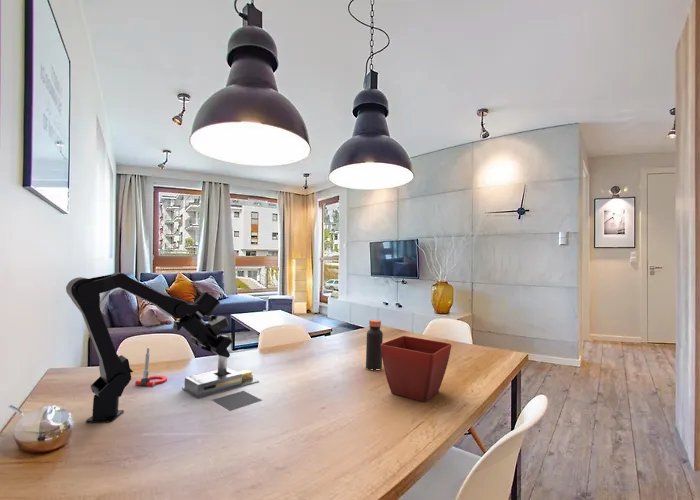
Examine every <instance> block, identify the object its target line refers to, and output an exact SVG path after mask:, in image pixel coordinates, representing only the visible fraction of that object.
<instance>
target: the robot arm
mask: <svg viewBox="0 0 700 500" xmlns="http://www.w3.org/2000/svg"><path fill="white" fill-rule="evenodd" d="M115 289H120V290H123V291H124V292H127V293H129V294H131V295H133V296H135V297H138V298H139V299H142V300H144V301H145V302H148V303H150V304H151V305H153V306H154V307H156V308H157V309H158V310H159V311H161V312H162V313H163V314H164V315H166V316H168V317H171V318H174V319H177V320H174V321H173V325H172V329H173V330H175V331H178V332H179V331H180V330H181V329H184V331H185V332H186V333H188V334H189V337H190V338H191V339H190V342H191V344H192V345H193V346H194V347H197V348H198V347H200V346H201V347H200V348H201V349H202V350H203V351H207V352H210V354H211V353H212V354H214V355H217V356H218V355H219V356H224V357H227V359H229V358H230V356H231V355H230V352H229V346H230V345H231V344H233V339H232V337H230V336H228V335H227V334H226V335H225V334H221V335H220V331H221V330H223V329H224V328H227V327H229V326H230V325H229V321H228V319H227V316H223V315H217V316H216V315H214V314H212V313H213V312H214V311H215V310H216V309H217V308H218V307H219V305H220V304H221V303H220V300H218V298H217V297H214V296H213V295H212V294H210V293H208V292H207V291H203V292H202V293H201V294H200V296H199V297H197V298H196V299H195V300H194V301H193V302H189V301H186V300H183V299H180V298H176V297H173V296H170V295H167V294H163V293H161V292H159V291H157V290H155V289H153V288H152V287H150V286H148V285H146V284H143V283H142V282H139V280H138V281H137V280H136V279H134V278H132V277H130V276H129V275H127V274H126V273H123V272H113V273H111V274H107V275H101V276H100V275H99V276H95V277H90V278H86V277H80V276H79V277H75V278H72V279H71V280H70V281H69V282H68V283H67V285H66V286H65V291H66V293H67V296H68V297H69V298H70V300H71V301H72V302H73V304H74V305H75V307H76V308H77V309H78V310H79V312H80V313H81V315H82V318H83V321H84V323H85V325H86V328H87V331H88V333H89V336H90V338H91V342H92V343H93V345H94V346H93V347H94V350H95V352H96V353H97V356H98V359H99V360H98V361H99V362H98V363H99V364H98V365H99V366H98V371H99V375H100V376H99V377H98V378H97V379H96V380H95V381H94V382H93V383H92V384H91V385H90V389H91V392H92V393H94V395H93V401H92V415H91V416H90V417H89V418H87V419H86V420H85V423H112V422H113V421H114V420H115V419H117V418H118V417H119V416H121V415H122V414H123V413H124V411H125V410H124V409H119V402H120V401H119V400H120V397H121V396H122V395H123V392H124V390H125V388H126V387H127V386H128V385H129V384H130V382H131V381H132V374H131V373H133V372H134V371H133V370H132V368H131V367H130V362H129V359H128V358H127V357H126V356H124V355H122V354H121V355H118V352H117V349H116V347H115V345H114V342H113V339H112V337H111V334H110V331H109V328H108V326H107V323H106V321H105V319H104V316H103V313H102V311H101V296H100V294H104V293H106V292H109V291H113V290H115ZM204 317H208V321H207V322H206V321H204V320H203V319H202V318H204ZM227 348H228V350H227Z"/></svg>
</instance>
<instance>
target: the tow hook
mask: <svg viewBox="0 0 700 500" xmlns="http://www.w3.org/2000/svg"><path fill="white" fill-rule="evenodd" d="M150 355H151V354H150V347H146V353H145V358H144V359H145V360H144V370H143V373H142V375H143V377H141V379H140V380H135V382H134V384H135V385H136V386H142V387H151V388H152V387H153V388H154V387H155V386H156V385H158V384H159V385H160V384H163V383H165V382H167V380H168V377H167V376H164V375H151V376H150V374H149V372H150V370H149V366H150ZM150 380H151V381H150ZM153 380H154V381H153Z"/></svg>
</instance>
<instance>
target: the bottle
mask: <svg viewBox="0 0 700 500" xmlns="http://www.w3.org/2000/svg"><path fill="white" fill-rule="evenodd" d="M368 322H369V323H368V324H369V327H368V328H369V329H368V330H367V331H366V348H365V349H366V350H365V354H366V355H365V368H366V369H367V368H368V369H373V370H372V371H374V370H376V369H381V368H382V367H383V359H382V353H381V344H382V343H384V342H383V339H384V335H383V334H384V333H383V331H382V330H381V325H382V321H381V319H380V320H379V319H370V320H369V321H368ZM368 369H367V370H368ZM381 370H382V369H381ZM376 371H377V370H376Z"/></svg>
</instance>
